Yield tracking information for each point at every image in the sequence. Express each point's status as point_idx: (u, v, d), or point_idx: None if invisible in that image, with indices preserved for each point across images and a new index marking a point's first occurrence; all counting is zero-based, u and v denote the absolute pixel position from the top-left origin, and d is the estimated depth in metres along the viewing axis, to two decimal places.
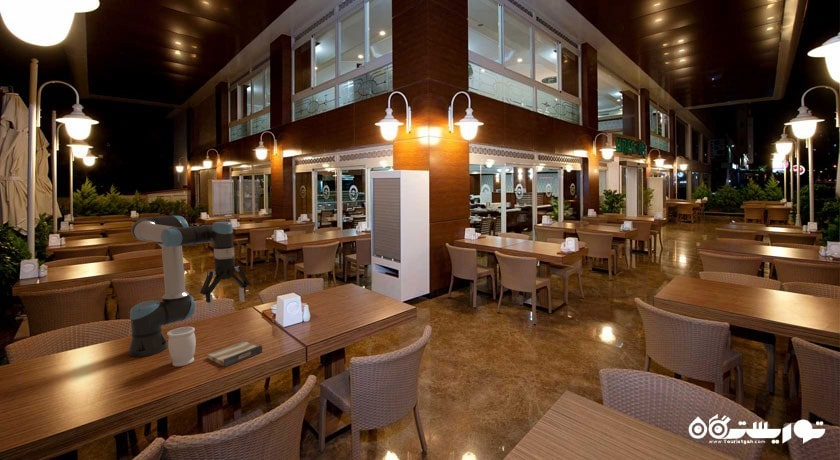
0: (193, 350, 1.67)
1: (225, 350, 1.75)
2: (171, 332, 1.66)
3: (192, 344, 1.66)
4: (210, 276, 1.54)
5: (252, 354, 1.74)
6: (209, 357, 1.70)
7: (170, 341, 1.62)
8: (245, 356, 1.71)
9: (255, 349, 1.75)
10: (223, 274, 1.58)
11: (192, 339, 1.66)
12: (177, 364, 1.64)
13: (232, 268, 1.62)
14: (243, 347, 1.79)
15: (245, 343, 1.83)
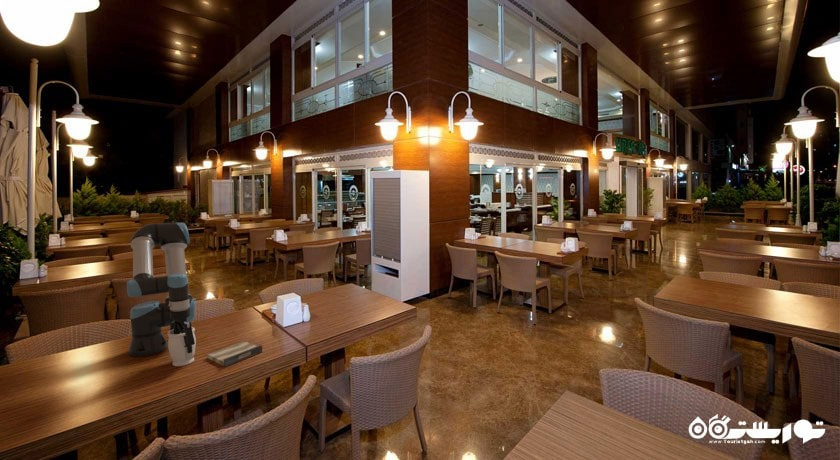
0: (193, 350, 1.67)
1: (225, 350, 1.75)
2: (171, 332, 1.66)
3: None
4: (171, 322, 1.68)
5: (252, 354, 1.74)
6: (209, 357, 1.70)
7: (170, 341, 1.62)
8: (245, 356, 1.71)
9: (255, 349, 1.75)
10: (174, 324, 1.65)
11: None
12: (177, 364, 1.64)
13: (180, 321, 1.63)
14: (243, 347, 1.79)
15: (245, 343, 1.83)
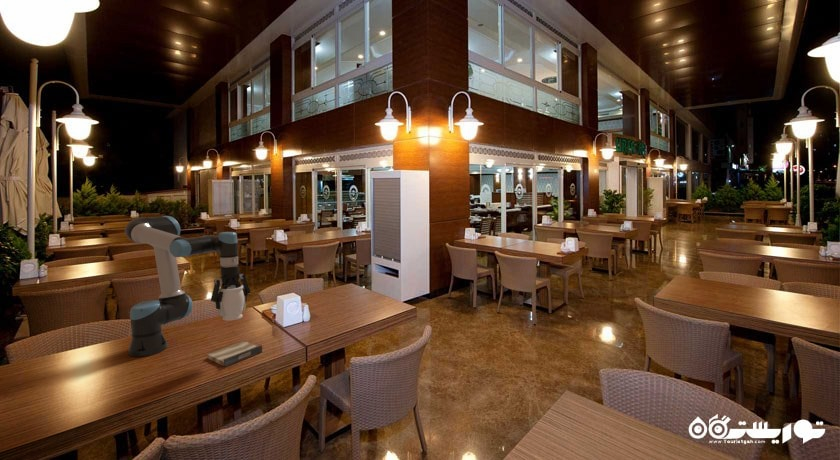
0: None
1: (225, 350, 1.75)
2: None
3: None
4: (218, 284, 1.66)
5: (252, 354, 1.74)
6: (209, 357, 1.70)
7: (239, 294, 1.70)
8: (245, 356, 1.71)
9: (255, 349, 1.75)
10: (229, 281, 1.69)
11: None
12: (240, 316, 1.73)
13: (237, 275, 1.73)
14: (243, 347, 1.79)
15: (245, 343, 1.83)
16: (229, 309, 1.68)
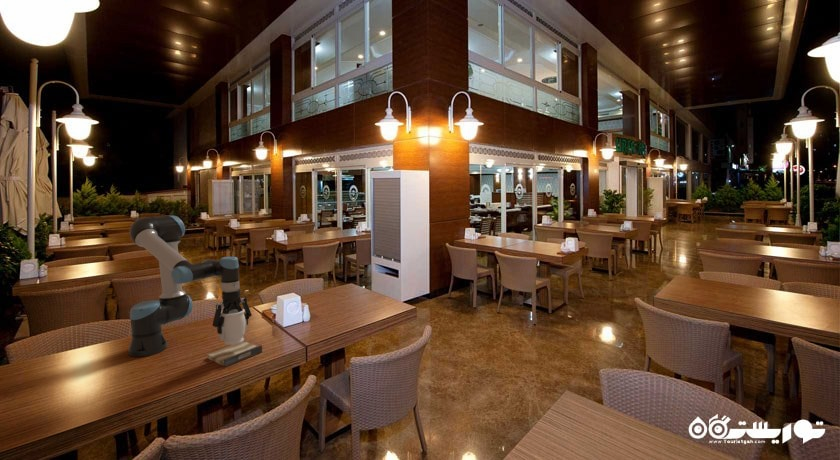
0: None
1: (225, 350, 1.75)
2: None
3: None
4: (219, 309, 1.67)
5: (252, 354, 1.74)
6: (209, 357, 1.70)
7: (240, 318, 1.71)
8: (245, 356, 1.71)
9: (255, 349, 1.75)
10: (230, 306, 1.70)
11: None
12: (242, 339, 1.74)
13: (238, 299, 1.74)
14: (243, 347, 1.79)
15: (245, 343, 1.83)
16: (231, 334, 1.70)
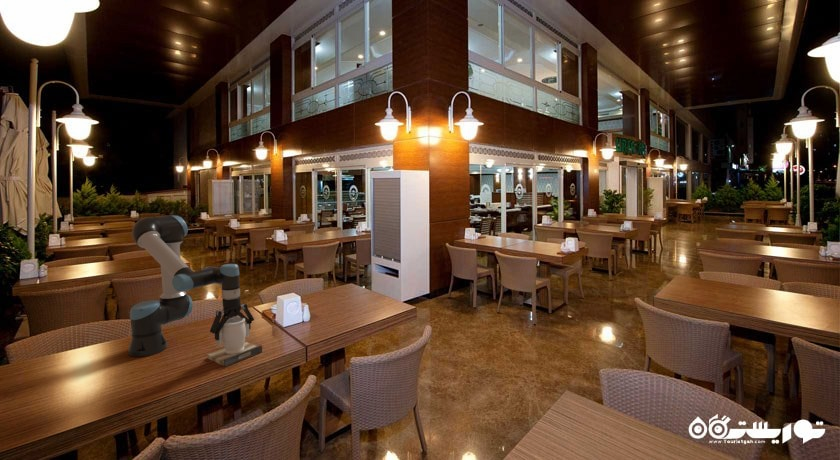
0: None
1: None
2: None
3: None
4: (219, 316, 1.67)
5: (252, 354, 1.74)
6: (209, 357, 1.70)
7: (240, 328, 1.72)
8: (245, 356, 1.71)
9: (255, 349, 1.75)
10: (231, 313, 1.71)
11: None
12: (242, 348, 1.75)
13: (238, 306, 1.75)
14: None
15: (245, 343, 1.83)
16: (231, 343, 1.70)
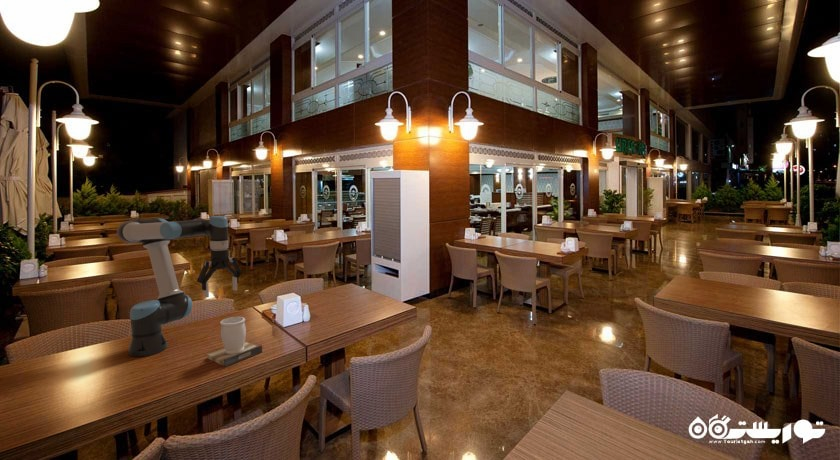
0: None
1: None
2: None
3: None
4: (206, 266, 1.67)
5: (252, 354, 1.74)
6: (209, 357, 1.70)
7: (240, 328, 1.72)
8: (245, 356, 1.71)
9: (255, 349, 1.75)
10: (218, 264, 1.71)
11: None
12: (242, 348, 1.75)
13: (226, 259, 1.75)
14: None
15: (245, 343, 1.83)
16: (231, 343, 1.70)
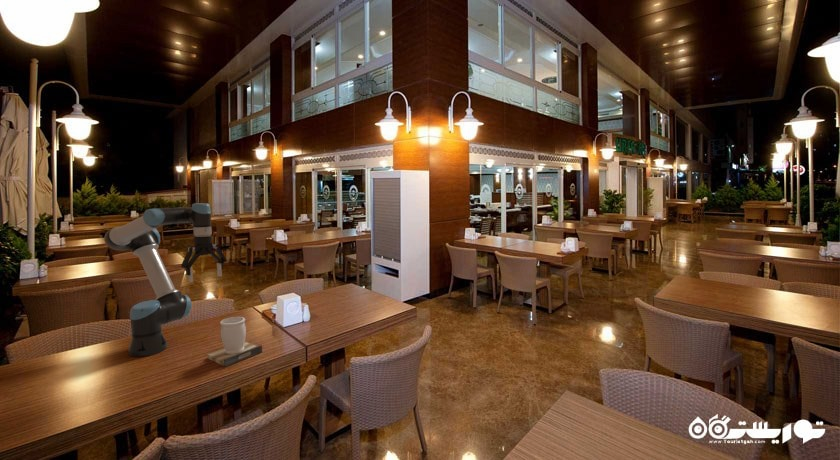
0: None
1: None
2: None
3: None
4: (190, 251, 1.72)
5: (252, 354, 1.74)
6: (209, 357, 1.70)
7: (240, 328, 1.72)
8: (245, 356, 1.71)
9: (255, 349, 1.75)
10: (202, 250, 1.76)
11: None
12: (242, 348, 1.75)
13: (210, 245, 1.80)
14: None
15: (245, 343, 1.83)
16: (231, 343, 1.70)
